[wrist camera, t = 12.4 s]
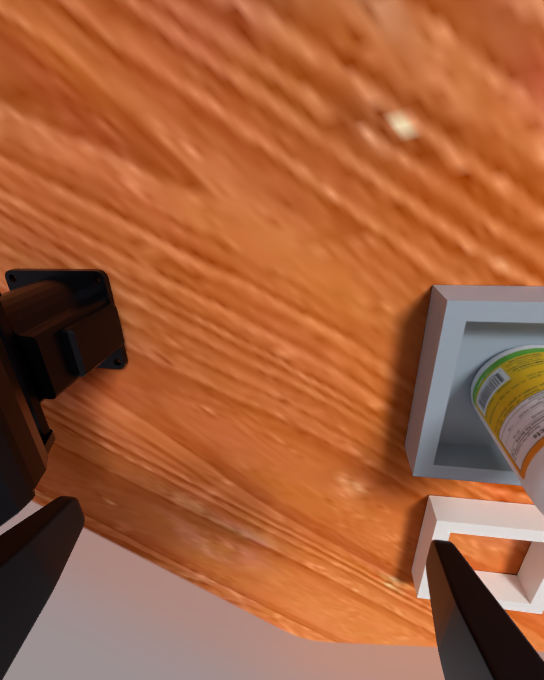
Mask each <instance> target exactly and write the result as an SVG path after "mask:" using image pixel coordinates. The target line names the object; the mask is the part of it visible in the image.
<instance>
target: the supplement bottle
mask: <svg viewBox="0 0 544 680" xmlns="http://www.w3.org/2000/svg"><path fill="white" fill-rule="evenodd" d="M471 401H472V404H473V407H474V409H475V411H476V412H477V414H478V416H479V417H480V419H481V421H482V422H483V424H484V425H485V427H486V429H487V430H488V432H489V433H490V435H491V437H492V438H493V440H494V441H495V443H496V444H497V446H498V448H499V449H500V451H501V452H502V454H503V456H504V457H505V459H506V460H507V462H508V464H509V465H510V467H511V468H512V470H513V471H514V473H515V475H516V476H517V478H518V479H519V481H520V483H521V484H522V486H523V488H524V489H525V491H526V493H527V494H528V495H529V497H530V498H531V500H532V501H533V503H534V504H535V506H536V507H537V508H538V510H539V511H540V512H541V513H542V514H543V515H544V345H525V346H519V347H515V348H512V349H509V350H506V351H504V352H502V353H500V354H498V355H496V356H495V357H493V358H492V359H490V360H489V361H488V362H487V363H486V364H485V365H483V366H482V367H481V369H480V370H479V371H478V373H477V374H476V376H475V378H474V380H473V382H472V386H471Z"/></svg>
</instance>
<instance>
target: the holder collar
mask: <svg viewBox="0 0 544 680" xmlns="http://www.w3.org/2000/svg"><path fill="white" fill-rule="evenodd" d="M450 532H451V533H460V534H470V535H479V536H489V537H498V538H507V539H517V540H526V541H532V543H531V545H530V547H529V549H528V552H527V554H526V556H525V558H524V561H523V563H522V565H521V567H520V569H519V572H518V574H517V575H510V574H502V573H494V572H485V571H477V570H474V571H475V573H476V574H477V575H478V576H479V578H480V579H481V580H482V582H483V583H484V584H485V585H486V587H487V588H488V589H489V591H490V592H491V593H492V595H493V596H494V597H495V598H496V600H497V601H498V602H499V604H500V605H501V606H502V608H503V609H507V610H514V611H522V612H530V613H537V614H542V612H543V611H544V515H543V514H542V513H541V512H540V511H539V510H538V508H537V507H536V506H535V505H530V504H519V503H508V502H498V501H487V500H476V499H465V498H455V497H444V496H433V495H429V497H428V501H427V506H426V510H425V514H424V519H423V523H422V527H421V531H420V536H419V540H418V544H417V549H416V553H415V557H414V561H413V566H412V570H411V571H412V576H413V581H414V585H415V590H416V595H417V598H424V599H430V594H429V588H428V581H427V575H426V559H427V555H428V552H429V548H430V544H431V542H432V540H435V539H436V540H444V541H448V539H449V535H450Z"/></svg>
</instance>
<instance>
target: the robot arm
mask: <svg viewBox="0 0 544 680" xmlns="http://www.w3.org/2000/svg"><path fill="white" fill-rule="evenodd" d="M96 275H97V276H99V277H100V279H101V282H100V281H98V280H97V278H96ZM14 276H15V277H16V278H17V280H16V279H15V277H14ZM5 278H6V281H7V284H8V287H9V289H10V291H8V292H6V293H3V294H1V293H0V526H2V525H3V524H4V523H6V522H7V521H8V520H10V519H11V518H12V517H14V516H15V515H17V514H18V513H19V512H20V511H21V510H22V509H23V508H24V507H25V506H26V505H27V504H28V503H29V502H30V501H31V500H32V499H33V498H34V496H35V491H34V488H35V487H36V486H37V484H38V482H39V481H40V479H41V477H42V476H43V474H44V472H45V470H46V467H47V460H48V453H49V451H50V449H51V447H52V445H53V443H54V441H55V436H54V433H53V430H51V429H49V426H48V423H47V421H46V418H45V416H44V413H43V410H42V408H41V405H40V403H42V402H43V401H44V400H45V399H55V398H56V397H57V396H59V395H60V394H61V393H62V392H63V391H65V390H66V389H67V388H68V387H69V386H71V385H72V384H73V383H74V382H75V381H77V380H78V379H79V378H80V377H85V376H86V375H88V374H89V373H90V372H91V371H92V370H94V369H95V368H111V369H122V368H123V367H124V366H125V365H126V364H127V362H128V359H127V355H126V351H125V347H124V338H123V334H122V330H121V325H120V321H119V317H118V313H117V308H116V306H115V304H114V300H113V296H112V291H111V287H110V283H109V279H108V276H107V274H106V273H105V272H104V271H102V270H100V269H12V270H9V271H7V272H6V273H5ZM117 359H119V360H120V362H121V363H120V362H119V361H118V360H117ZM84 521H85V518H84V514H83V512H82V509H81V506H80V504H79V501H78V499H77V498H75V497H69V496H60V497H58V498H56V499H55V500H53V501H52V502H50V503H49V504H47V505H46V506H44V507H43V508H41V509H40V510H38V511H37V512H35V513H34V514H32V515H31V516H29V517H28V518H26V519H24V520H23V521H21V522H20V523H18V524H17V525H15V526H14V527H12V528H11V529H9V530H8V531H6V532H5V533H3V534H2V535H0V680H2V679H3V678H4V676H5V674H6V672H7V671H8V669H9V667H10V665H11V664H12V662H13V660H14V658H15V657H16V655H17V653H18V651H19V649H20V648H21V646H22V644H23V643H24V641H25V639H26V637H27V636H28V634H29V632H30V630H31V628H32V627H33V625H34V623H35V622H36V620H37V618H38V616H39V614H40V613H41V611H42V609H43V607H44V606H45V604H46V602H47V600H48V599H49V597H50V595H51V593H52V592H53V590H54V588H55V586H56V584H57V582H58V580H59V578H60V576H61V573H62V571H63V569H64V567H65V565H66V563H67V561H68V558H69V556H70V554H71V552H72V550H73V548H74V545H75V543H76V541H77V539H78V537H79V535H80V533H81V530H82V529H83V526H84ZM426 575H427V581H428V588H429V594H430V601H431V607H432V614H433V621H434V627H435V634H436V640H437V646H438V652H439V656H440V660H441V665H442V669H443V673H444V677H445V680H544V661H543V660H542V658H541V657H540V656H539V654H538V653H537V652H536V650H535V649H534V648H533V646H532V645H531V644H530V643H529V641H528V640H527V639H526V637H525V636H524V635H523V633H522V632H521V631H520V630H519V628H518V627H517V626H516V624H515V623H514V622H513V620H512V619H511V618H510V617H509V615H508V614H507V613H506V611H505V610H504V609H503V608H502V606H501V605H500V604H499V602H498V601H497V600H496V598H495V597H494V596H493V595H492V593H491V592H490V591H489V589H488V588H487V587H486V585H485V584H484V583H483V582H482V580H481V579H480V578H479V576H478V575H477V574H476V573H475V571H474V570H473V569H472V567H471V566H470V565H469V563H468V562H467V561H466V560H465V558H464V557H463V556H462V554H461V553H460V552H459V550H458V549H457V548H456V547H455V545H454V544H453V543H451V542H450V541H444V540H436V539H435V540H432V542H431V544H430V548H429V552H428V555H427V559H426Z"/></svg>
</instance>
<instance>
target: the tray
mask: <svg viewBox="0 0 544 680" xmlns="http://www.w3.org/2000/svg"><path fill="white" fill-rule="evenodd" d="M525 345H544V286H477V285H433V287H432V293H431V298H430V304H429V310H428V315H427V321H426V327H425V332H424V338H423V344H422V349H421V355H420V361H419V367H418V372H417V378H416V384H415V389H414V395H413V401H412V406H411V412H410V418H409V423H408V429H407V435H406V441H405V446H404V447H405V450H406V454H407V457H408V461H409V465H410V468H411V472H412V475H413V476H417V477H429V478H440V479H452V480H464V481H475V482H487V483H498V484H510V485H521V486H522V484H521V483H520V481H519V479H518V478H517V476H516V475H515V473H514V471H513V470H512V468H511V467H510V465H509V464H508V462H507V460H506V459H505V457H504V456H503V454H502V452H501V451H500V449H499V448H498V446H497V444H496V443H495V441H494V440H493V438H492V437H491V435H490V433H489V432H488V430H487V429H486V427H485V425H484V424H483V422H482V421H481V419H480V417H479V416H478V414H477V412H476V411H475V409H474V407H473V404H472V401H471V386H472V382H473V380H474V378H475V376H476V374H477V373H478V371H479V370H480V369H481V367H482V366H483V365H485V364H486V363H487V362H488V361H489V360H490V359H492V358H493V357H495V356H496V355H498V354H500V353H502V352H504V351H506V350H509V349H512V348H515V347H519V346H525Z"/></svg>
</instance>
